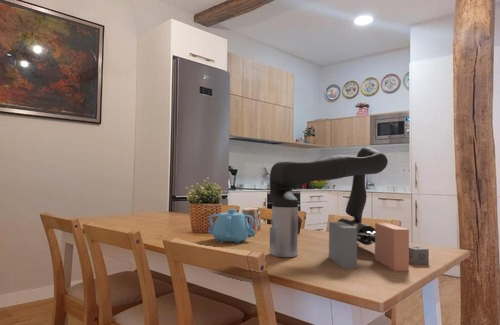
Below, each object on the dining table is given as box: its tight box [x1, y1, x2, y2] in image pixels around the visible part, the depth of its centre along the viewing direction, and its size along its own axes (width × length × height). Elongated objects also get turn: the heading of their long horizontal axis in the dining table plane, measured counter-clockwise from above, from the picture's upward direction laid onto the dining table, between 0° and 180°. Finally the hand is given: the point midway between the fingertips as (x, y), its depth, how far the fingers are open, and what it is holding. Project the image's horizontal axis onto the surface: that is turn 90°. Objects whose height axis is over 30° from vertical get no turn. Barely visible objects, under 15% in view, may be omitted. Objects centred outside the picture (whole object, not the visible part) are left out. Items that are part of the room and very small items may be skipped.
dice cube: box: [409, 245, 430, 265], centre depth 123 cm, size 5×5×5 cm
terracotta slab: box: [374, 222, 410, 272], centre depth 119 cm, size 15×4×12 cm, turn 3°
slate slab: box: [328, 221, 358, 269], centre depth 121 cm, size 15×4×12 cm, turn 4°
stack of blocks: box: [241, 206, 262, 237], centre depth 181 cm, size 21×6×12 cm, turn 171°
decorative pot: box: [208, 208, 254, 244], centre depth 157 cm, size 16×16×14 cm
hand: (382, 241), depth 127 cm, fingers closed
